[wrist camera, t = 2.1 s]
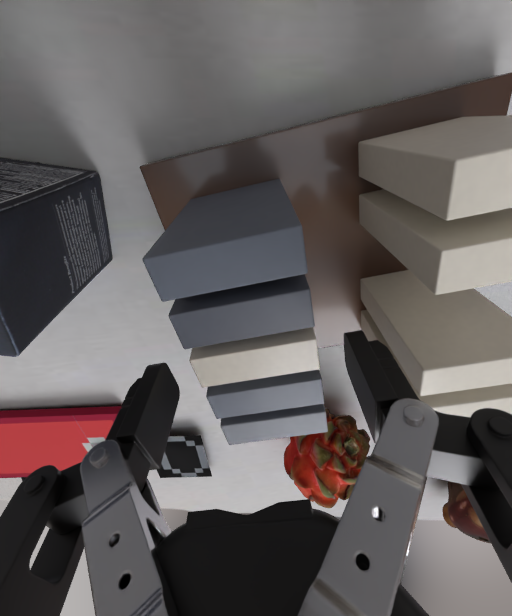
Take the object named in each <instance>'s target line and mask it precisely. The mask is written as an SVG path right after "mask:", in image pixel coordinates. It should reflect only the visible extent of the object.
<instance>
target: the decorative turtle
mask: <svg viewBox="0 0 512 616" xmlns="http://www.w3.org/2000/svg"><path fill="white" fill-rule="evenodd" d="M448 491H449V499H448V503H446V504H445V505H444V507H443V517H444V519H445V521H446V522H447V523H448V524H449V525H450V526H452V527H455V528H458V529H459V530H460V531H461V532H463V533H465V534H466V535H468V536H470V537H472V538H475V539H477V540H480V541H483V542H487V543H491V542H490V540H489V538H488V536H487V534H486V532H485V530H484V528H483V526H482V524H481V522H480V520H479V518H478V516H477V514H476V512H475V510H474V509H473V507H472V505H471V503H470V501H469V499H468V497H467V495H466V493H465V491H464V489H463V487H462V485H461V484H459V483H455V482H450V481H448Z"/></svg>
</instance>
